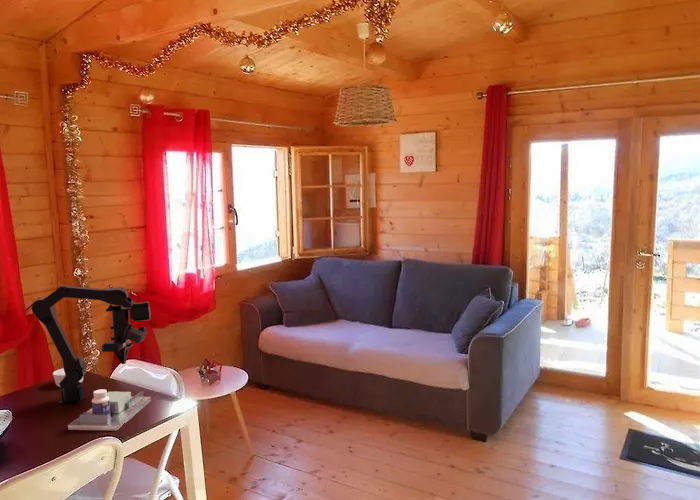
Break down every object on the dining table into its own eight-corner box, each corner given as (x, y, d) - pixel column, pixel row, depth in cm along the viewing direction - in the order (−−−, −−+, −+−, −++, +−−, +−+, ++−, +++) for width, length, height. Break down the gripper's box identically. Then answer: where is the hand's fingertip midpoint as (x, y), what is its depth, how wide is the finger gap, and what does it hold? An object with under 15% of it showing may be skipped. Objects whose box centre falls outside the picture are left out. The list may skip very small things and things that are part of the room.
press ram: (94, 413, 187) (93, 402, 186) (109, 402, 196) (108, 391, 196) (117, 414, 186) (117, 402, 186) (131, 403, 196) (130, 391, 195)
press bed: (68, 429, 179) (67, 416, 178) (108, 400, 203) (107, 388, 203) (116, 430, 177) (115, 416, 177) (151, 400, 202) (150, 388, 202)
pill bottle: (105, 420, 181) (103, 394, 180) (89, 420, 181) (87, 394, 180) (113, 414, 186) (111, 388, 185) (98, 414, 187) (96, 388, 186)
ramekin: (51, 383, 223) (50, 370, 223) (81, 376, 230) (80, 364, 230) (56, 390, 215) (55, 377, 214) (88, 384, 221) (87, 371, 221)
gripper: (130, 328, 195) (132, 372, 197) (153, 316, 214) (155, 356, 215) (99, 328, 196) (102, 372, 198) (125, 316, 215) (127, 356, 216)
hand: (123, 363), depth 207 cm, fingers closed
